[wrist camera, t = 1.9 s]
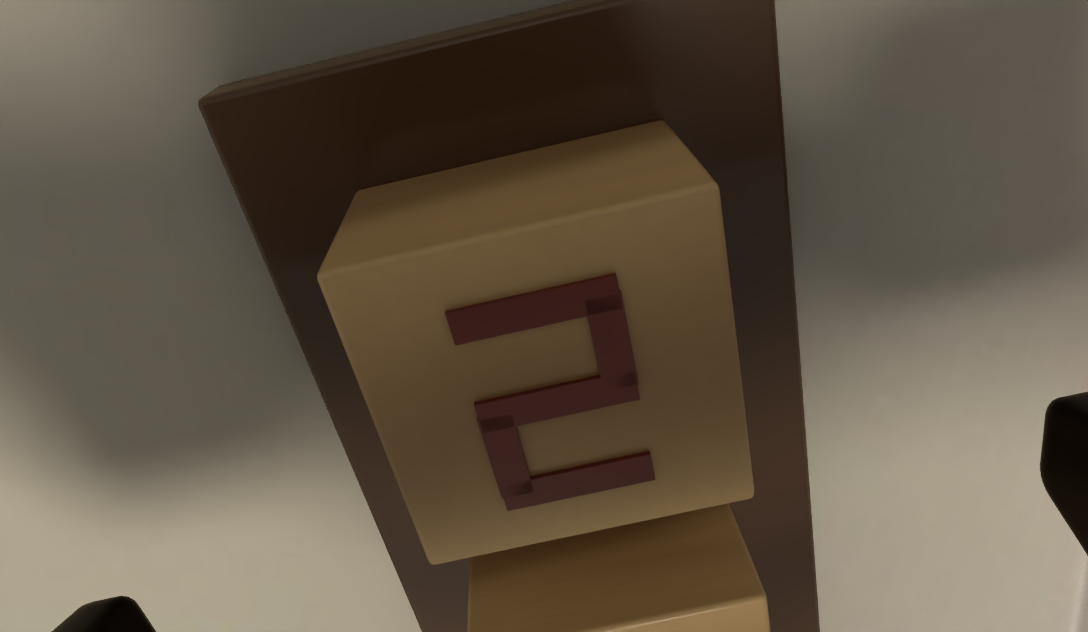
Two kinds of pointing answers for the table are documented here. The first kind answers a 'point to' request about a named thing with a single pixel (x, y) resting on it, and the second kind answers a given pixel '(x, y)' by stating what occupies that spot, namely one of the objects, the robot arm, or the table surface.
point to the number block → (546, 340)
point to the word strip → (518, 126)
